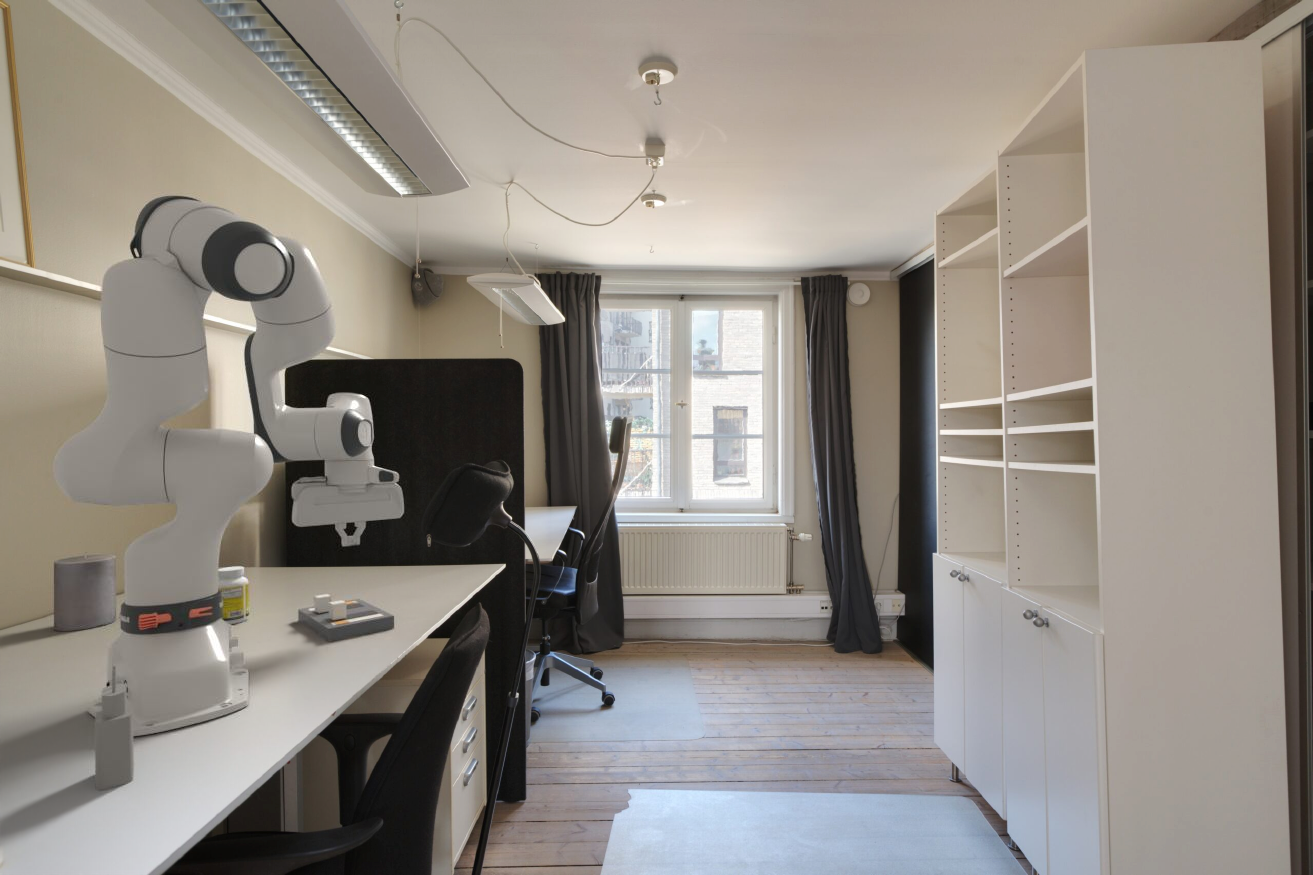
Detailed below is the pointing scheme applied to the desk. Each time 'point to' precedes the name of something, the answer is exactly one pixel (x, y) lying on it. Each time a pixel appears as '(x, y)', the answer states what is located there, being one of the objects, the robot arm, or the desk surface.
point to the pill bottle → (234, 594)
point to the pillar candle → (84, 592)
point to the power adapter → (114, 737)
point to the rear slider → (322, 603)
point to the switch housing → (347, 621)
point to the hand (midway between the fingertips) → (350, 545)
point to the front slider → (337, 610)
